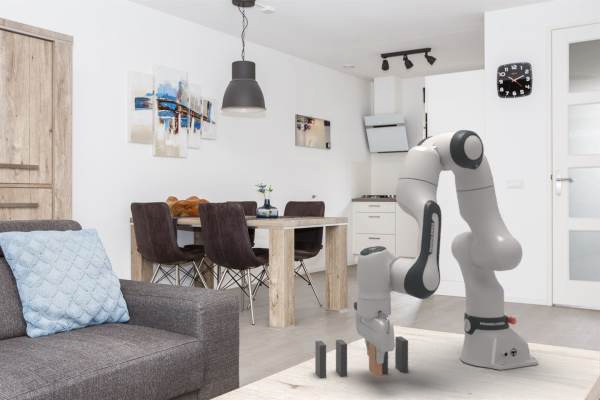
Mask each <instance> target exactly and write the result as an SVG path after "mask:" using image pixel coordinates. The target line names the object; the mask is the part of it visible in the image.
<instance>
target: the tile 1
mask: <svg viewBox="0 0 600 400" xmlns="http://www.w3.org/2000/svg"><path fill="white" fill-rule="evenodd" d="M314 342H315V343H314V344H315V346H314V347H315V349H314V350H315V353H314V354H315V356H314V357H315V359H314V360H315V363H314V364H315V366H314V369H315V374H316V376H317V377H318V379H327V345H326V344H325V343H324V342H323V340H315V341H314Z"/></svg>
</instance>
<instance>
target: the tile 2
mask: <svg viewBox="0 0 600 400" xmlns="http://www.w3.org/2000/svg"><path fill="white" fill-rule="evenodd" d="M335 372H336V374H338V376H339V377H340V378H347V377H348V343H347V342H345V341H344V340H343V339H335Z"/></svg>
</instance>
